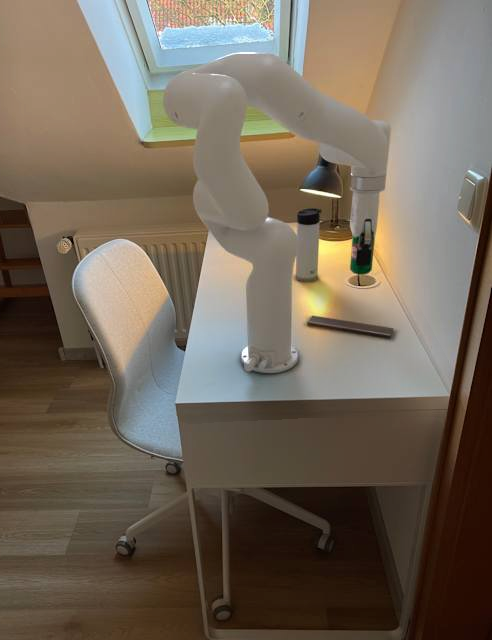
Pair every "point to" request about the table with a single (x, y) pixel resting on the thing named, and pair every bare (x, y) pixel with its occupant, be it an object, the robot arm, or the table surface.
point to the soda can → (355, 242)
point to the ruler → (350, 327)
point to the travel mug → (307, 244)
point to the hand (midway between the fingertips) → (361, 259)
